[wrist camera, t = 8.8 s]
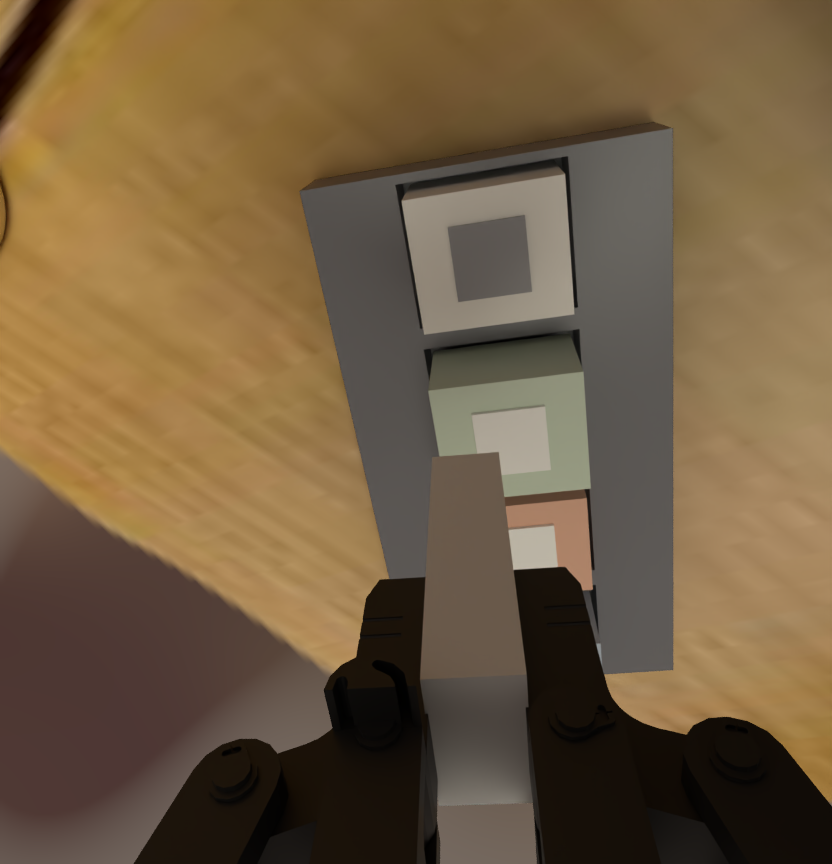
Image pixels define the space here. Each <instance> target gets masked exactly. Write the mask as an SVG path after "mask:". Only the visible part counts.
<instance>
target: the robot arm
mask: <svg viewBox="0 0 832 864" xmlns="http://www.w3.org/2000/svg"><path fill="white" fill-rule="evenodd" d="M324 693H325V698H326V702H327V706H328V710H329V714H330V719H331V723H332V727H333V728H332V729H331V730H330V731H329V732H327V733H326V734H325V735H323V736H322V737H320V738H319V739H317V740H314V741H312V742H310V743H307V744H305V745H302V746H299V747H296V748H293V749H290V750H287V751H284V752H281V753H278V754H277V753H276V751H275V750H274V749H273V748H272V747H271V745H270V744H267V743H265V742H262V741H260V740H258V739H238V740H235V741H232V742H229V743H226V744H223V745H221V746H219V747H218V748H216V749H215V750H214V751H212V752H210V753H209V754H207V755H206V756H205V757H204V758H203V759H202V760H201V762H200V763H199V764H198V765H197V766H196V767H195V769H194V770H193V771H192V773H191V775H190V776H189V778H188V779H187V781H186V782H185V784H184V785H183V787H182V789H181V790H180V792H179V793H178V795H177V796H176V798H175V800H174V801H173V803H172V804H171V806H170V808H169V809H168V811H167V812H166V814H165V815H164V817H163V819H162V820H161V822H160V823H159V825H158V826H157V828H156V829H155V831H154V833H153V834H152V836H151V837H150V839H149V840H148V842H147V844H146V845H145V847H144V848H143V850H142V851H141V853H140V855H139V856H138V858H137V859H136V861H135V862H134V864H440V837H439V831H438V825H437V796H438V802H439V806H450V805H483V804H516V803H533V809H534V819H535V836H536V854H537V864H832V806H831V805H830V804H829V802H828V801H827V800H826V799H825V797H824V796H823V795H822V794H821V792H820V791H819V790H818V789H817V787H816V786H815V785H814V784H813V782H812V781H811V780H810V779H809V777H808V776H807V775H806V774H805V772H804V771H803V770H802V769H801V768H800V766H799V765H798V764H797V763H796V761H795V760H794V759H793V758H792V756H791V755H790V754H789V753H788V751H787V750H786V749H785V748H784V746H783V745H782V744H781V743H779V742H778V741H777V740H776V739H775V738H774V737H773V736H772V735H771V734H770V733H769V732H767V731H766V730H764V729H762V728H760V727H758V726H756V725H754V724H752V723H750V722H748V721H744V720H740V719H735V718H730V717H718V718H708V719H706V720H704V721H702V722H700V723H697V724H695V725H693V727H692V728H691V729H690V731H689V732H688V734H687V735H685V734H681V733H676V732H672V731H668V730H663V729H659V728H656V727H653V726H650V725H647V724H644V723H642V722H640V721H638V720H636V719H634V718H633V717H631V716H629V715H628V714H627V713H626V712H624V711H623V710H622V709H621V708H620V707H619V706H618V705H617V704H616V702H615V701H614V700H613V698H612V697H611V695H610V692H609V690H608V687H607V684H606V680H605V676H604V672H603V668H602V665H601V661H600V657H599V653H598V649H597V645H596V641H595V637H594V633H593V629H592V626H591V623H590V618H589V614H588V610H587V608H586V602H585V598H584V594H583V590H582V587H581V583H580V582H579V581H578V580H577V579H576V578H575V577H574V576H573V575H572V574H571V573H570V571H569V570H568V569H567V568H566V567H550V568H534V569H518V570H513V562H512V554H511V546H510V538H509V530H508V522H507V514H506V506H505V498H504V490H503V482H502V474H501V466H500V458H499V452H492V453H479V454H466V455H453V456H440V457H432V469H431V487H430V505H429V524H428V542H427V560H426V577H417V578H401V579H384V580H379V582H378V583H377V584H376V586H375V587H374V588H373V590H372V591H371V592H370V594H369V595H368V596H367V598H366V602H365V608H364V614H363V623H362V626H361V632H360V639H359V644H358V650H357V656H356V658H354V659H352V660H350V661H348V662H346V663H344V664H342V665H341V666H340V667H339V668H338V669H337V670H336V671H335V672H334V673H333V674H332V675H331V676H330V677H329V680H328V682H327V684H326V686H325V688H324Z"/></svg>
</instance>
